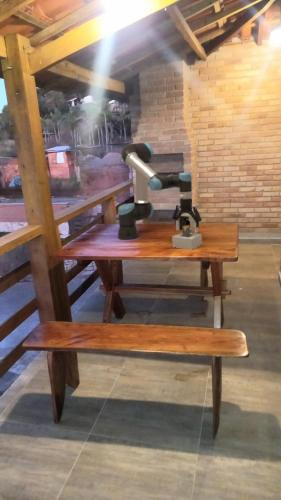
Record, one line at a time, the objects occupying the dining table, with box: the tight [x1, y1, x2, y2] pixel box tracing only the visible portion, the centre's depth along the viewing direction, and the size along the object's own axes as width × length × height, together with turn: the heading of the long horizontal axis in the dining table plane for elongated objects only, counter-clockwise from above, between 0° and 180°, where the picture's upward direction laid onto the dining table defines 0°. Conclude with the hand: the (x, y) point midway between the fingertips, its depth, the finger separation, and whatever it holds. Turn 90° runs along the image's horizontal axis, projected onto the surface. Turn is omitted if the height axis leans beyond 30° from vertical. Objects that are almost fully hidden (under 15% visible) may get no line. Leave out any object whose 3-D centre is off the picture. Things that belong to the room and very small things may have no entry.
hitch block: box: [171, 231, 203, 251], centre depth 245 cm, size 14×13×7 cm
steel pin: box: [182, 225, 190, 237], centre depth 244 cm, size 4×4×12 cm
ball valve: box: [178, 211, 195, 233], centre depth 263 cm, size 18×8×18 cm, turn 148°
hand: (186, 231), depth 243 cm, fingers open, 13 cm apart
